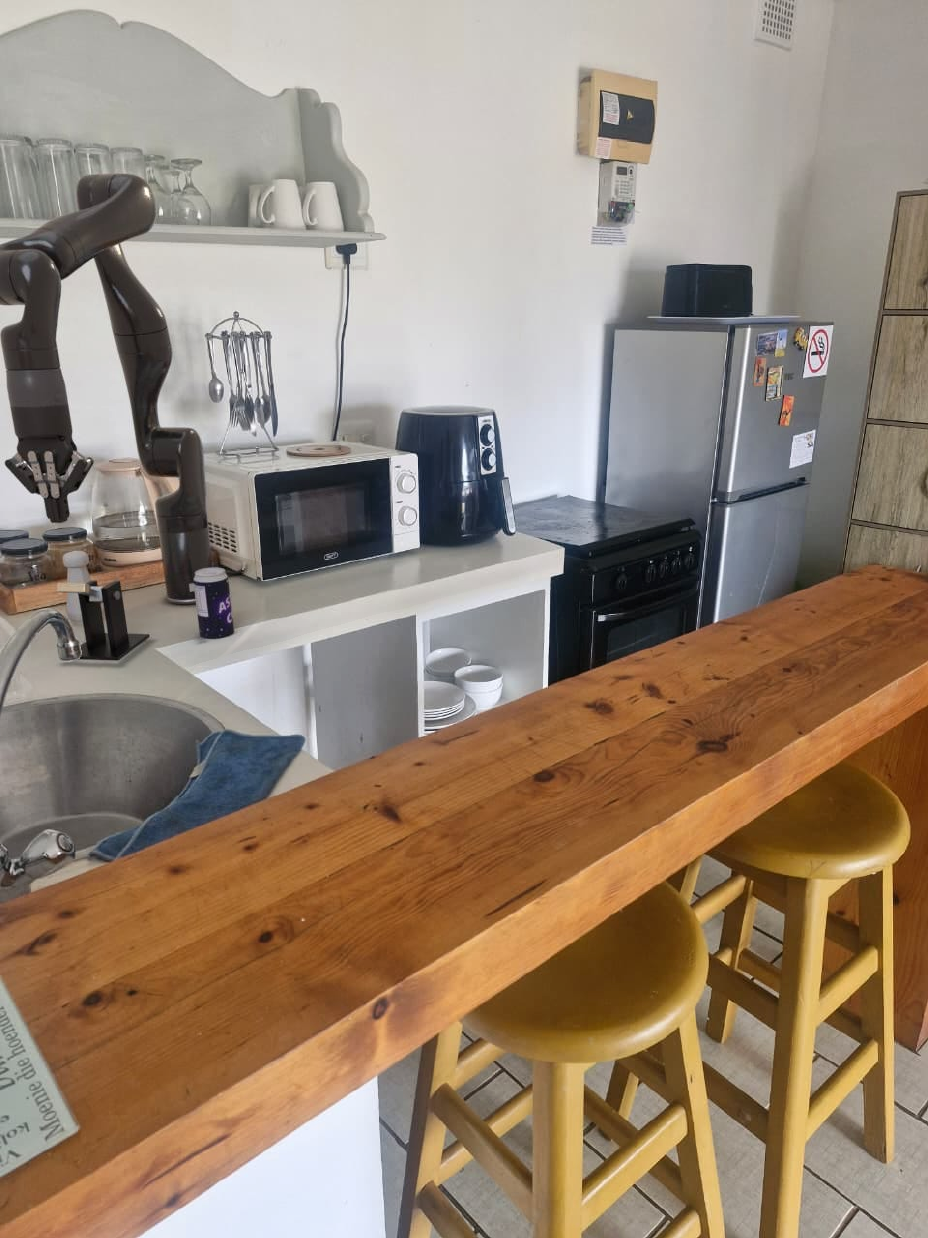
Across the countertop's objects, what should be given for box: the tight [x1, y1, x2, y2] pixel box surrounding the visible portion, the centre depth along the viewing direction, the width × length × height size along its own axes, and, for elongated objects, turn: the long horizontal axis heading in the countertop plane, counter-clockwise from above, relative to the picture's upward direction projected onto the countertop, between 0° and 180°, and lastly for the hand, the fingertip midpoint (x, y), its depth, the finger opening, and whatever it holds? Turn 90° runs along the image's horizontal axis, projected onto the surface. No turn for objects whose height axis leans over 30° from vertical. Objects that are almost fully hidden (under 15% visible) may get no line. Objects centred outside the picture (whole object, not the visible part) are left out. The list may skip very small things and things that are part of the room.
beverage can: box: [193, 567, 235, 640], centre depth 148 cm, size 6×6×12 cm
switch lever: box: [56, 582, 104, 604], centre depth 137 cm, size 10×4×2 cm, turn 173°
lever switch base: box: [78, 579, 150, 661], centre depth 142 cm, size 11×9×12 cm
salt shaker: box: [62, 550, 92, 622], centre depth 157 cm, size 6×6×13 cm
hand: (59, 521), depth 129 cm, fingers closed
